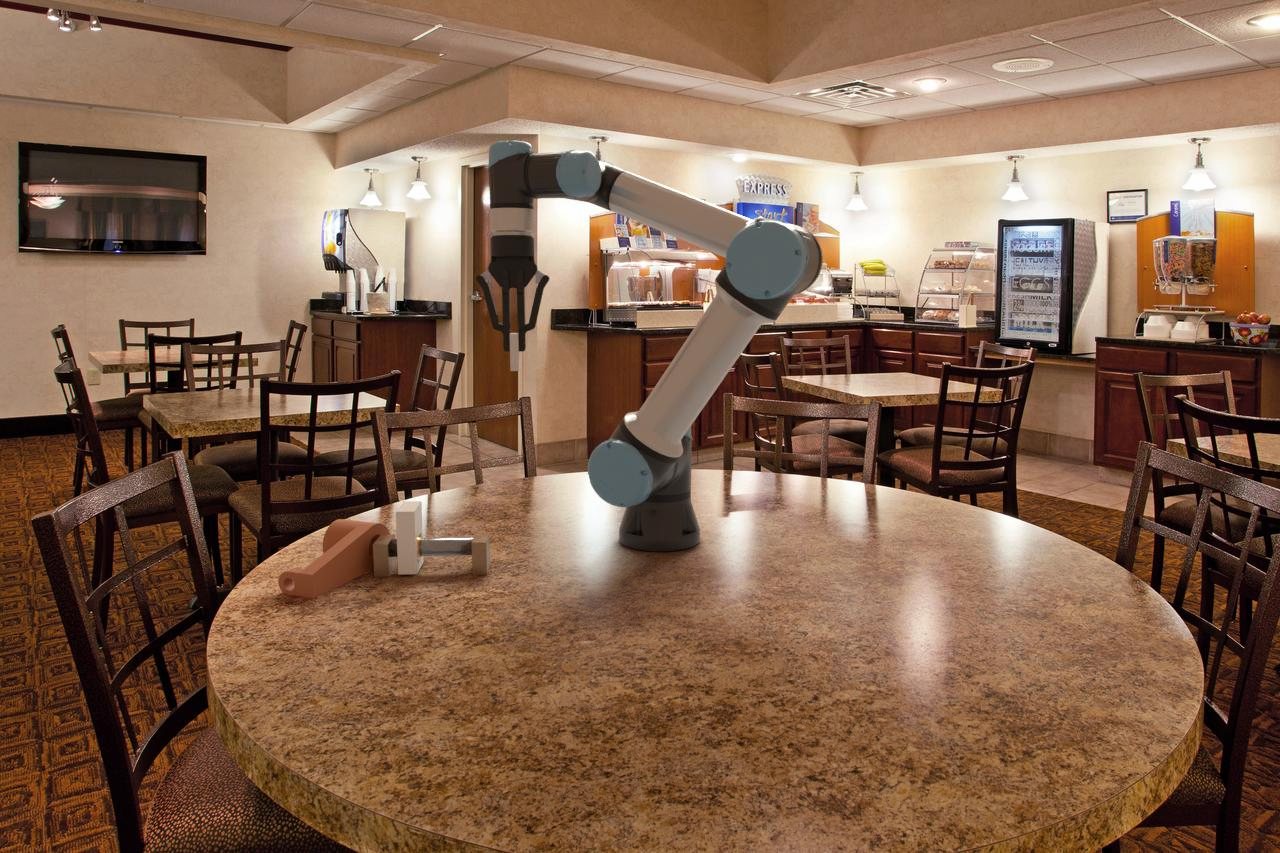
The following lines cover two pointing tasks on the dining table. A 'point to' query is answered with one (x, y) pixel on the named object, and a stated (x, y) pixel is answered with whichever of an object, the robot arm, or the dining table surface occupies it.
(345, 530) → the crank
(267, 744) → the dining table surface
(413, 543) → the sleeve
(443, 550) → the pipe rig
